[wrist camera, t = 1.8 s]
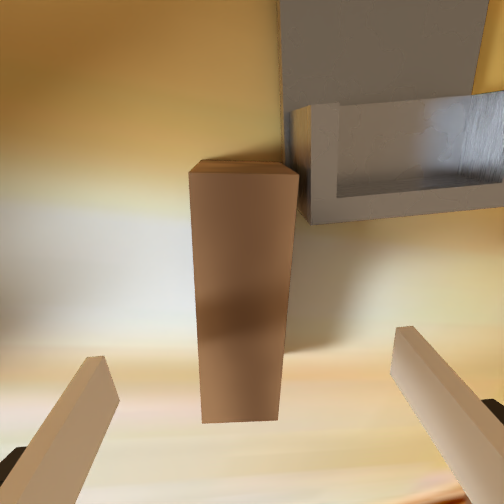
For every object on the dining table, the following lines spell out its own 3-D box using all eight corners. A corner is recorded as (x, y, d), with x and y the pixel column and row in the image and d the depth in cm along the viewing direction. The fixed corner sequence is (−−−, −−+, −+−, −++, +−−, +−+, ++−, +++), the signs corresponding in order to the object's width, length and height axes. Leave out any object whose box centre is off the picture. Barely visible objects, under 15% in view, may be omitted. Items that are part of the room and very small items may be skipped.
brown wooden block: (208, 357, 25) (202, 423, 19) (201, 160, 18) (188, 172, 13) (267, 356, 25) (277, 420, 19) (279, 161, 19) (299, 174, 13)
